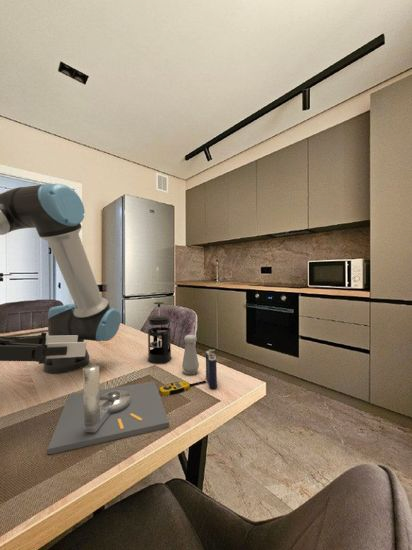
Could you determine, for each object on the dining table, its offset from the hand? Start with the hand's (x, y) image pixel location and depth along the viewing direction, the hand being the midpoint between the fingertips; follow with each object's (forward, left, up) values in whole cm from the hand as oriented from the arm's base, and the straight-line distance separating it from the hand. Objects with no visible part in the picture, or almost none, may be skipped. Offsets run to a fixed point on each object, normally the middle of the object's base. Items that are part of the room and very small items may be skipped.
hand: (81, 344), depth 55 cm
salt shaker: (-21, +31, -20) cm, 43 cm away
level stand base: (-6, +6, -20) cm, 22 cm away
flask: (-11, +35, -20) cm, 42 cm away
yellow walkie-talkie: (-11, +26, -20) cm, 35 cm away
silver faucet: (-3, +5, -18) cm, 19 cm away
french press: (-37, +23, -20) cm, 48 cm away
